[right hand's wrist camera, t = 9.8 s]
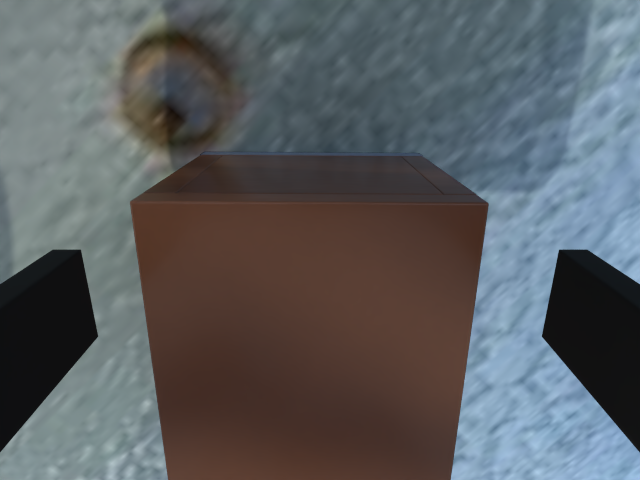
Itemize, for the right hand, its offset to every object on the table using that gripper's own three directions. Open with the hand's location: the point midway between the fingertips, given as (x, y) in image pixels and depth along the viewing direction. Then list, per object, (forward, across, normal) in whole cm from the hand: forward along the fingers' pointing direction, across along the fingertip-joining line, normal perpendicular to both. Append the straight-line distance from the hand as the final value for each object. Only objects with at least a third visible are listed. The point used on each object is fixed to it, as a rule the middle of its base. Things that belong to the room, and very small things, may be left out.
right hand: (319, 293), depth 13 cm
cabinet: (+12, 0, -7) cm, 13 cm away
